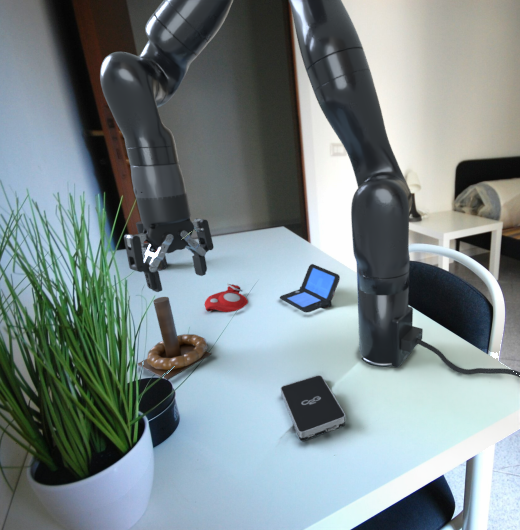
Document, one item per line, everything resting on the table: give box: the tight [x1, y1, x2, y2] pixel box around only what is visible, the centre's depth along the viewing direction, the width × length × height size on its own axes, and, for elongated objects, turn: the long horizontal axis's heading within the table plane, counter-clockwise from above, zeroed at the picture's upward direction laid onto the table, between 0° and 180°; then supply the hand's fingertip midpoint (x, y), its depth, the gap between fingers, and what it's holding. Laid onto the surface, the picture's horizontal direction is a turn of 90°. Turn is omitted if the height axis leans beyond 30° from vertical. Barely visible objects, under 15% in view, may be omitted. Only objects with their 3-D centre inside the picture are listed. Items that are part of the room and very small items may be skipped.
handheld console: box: [279, 263, 341, 314], centre depth 91 cm, size 12×11×7 cm
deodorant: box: [135, 220, 168, 271], centre depth 116 cm, size 6×6×15 cm
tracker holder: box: [203, 283, 249, 313], centre depth 91 cm, size 12×4×10 cm
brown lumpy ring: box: [146, 333, 208, 370], centre depth 69 cm, size 10×10×2 cm
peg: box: [137, 296, 212, 380], centre depth 66 cm, size 9×9×13 cm
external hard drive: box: [280, 374, 346, 442], centre depth 56 cm, size 7×11×2 cm, turn 26°
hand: (180, 282), depth 67 cm, fingers open, 8 cm apart
